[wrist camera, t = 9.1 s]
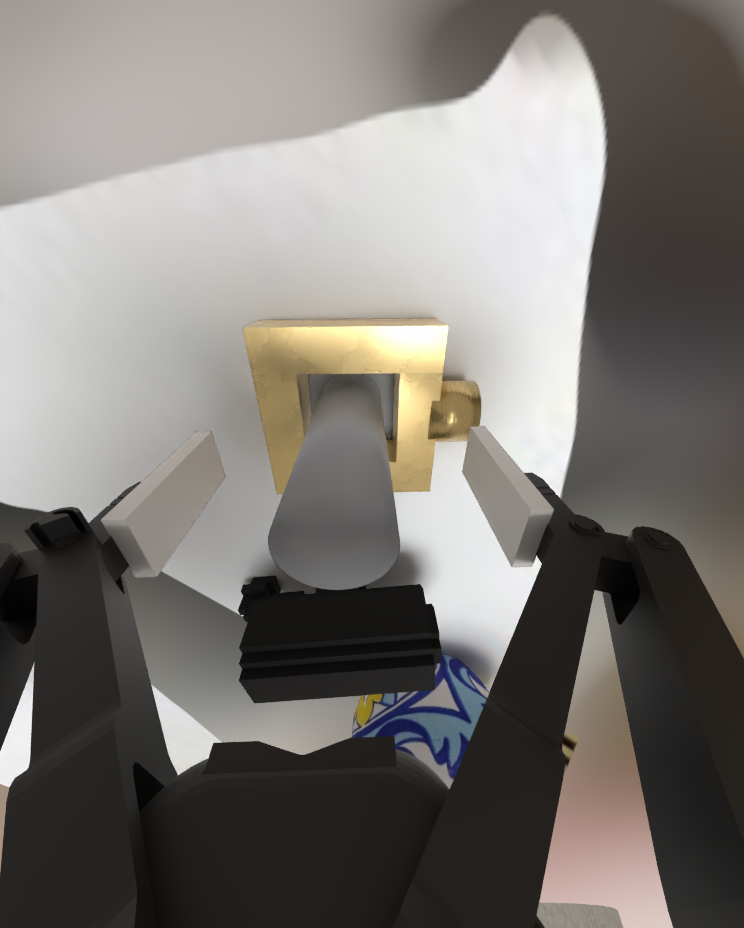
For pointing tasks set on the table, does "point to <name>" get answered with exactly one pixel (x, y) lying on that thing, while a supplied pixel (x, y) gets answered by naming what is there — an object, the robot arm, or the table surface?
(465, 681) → the table lamp
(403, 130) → the table surface
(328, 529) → the grey rounded cylinder
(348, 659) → the security camera
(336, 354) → the gold square frame
